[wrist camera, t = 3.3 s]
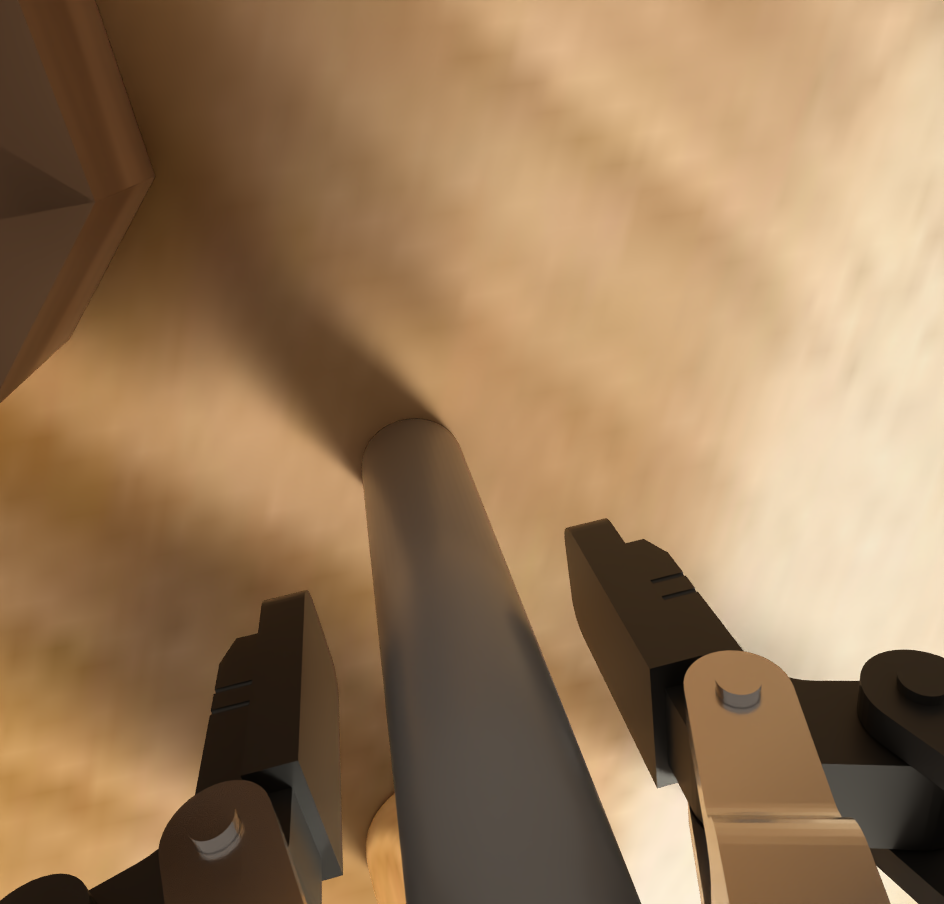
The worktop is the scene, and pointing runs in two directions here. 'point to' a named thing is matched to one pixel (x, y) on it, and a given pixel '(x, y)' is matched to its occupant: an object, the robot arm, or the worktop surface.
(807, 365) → the worktop surface
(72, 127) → the bead
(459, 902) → the grey rounded rod
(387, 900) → the beer glass
